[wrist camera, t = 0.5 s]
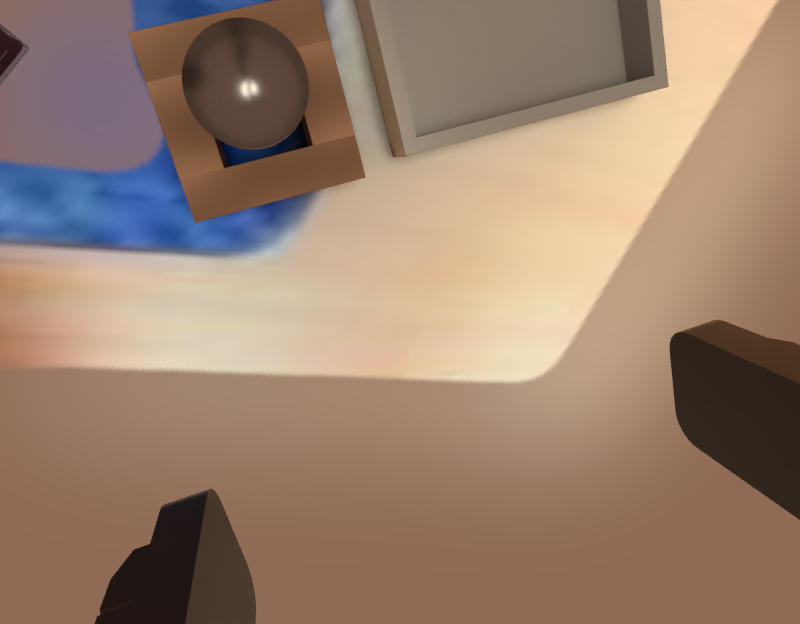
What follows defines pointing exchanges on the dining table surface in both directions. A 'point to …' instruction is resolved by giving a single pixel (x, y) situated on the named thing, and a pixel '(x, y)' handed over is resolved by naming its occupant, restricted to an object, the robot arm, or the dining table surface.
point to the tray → (504, 62)
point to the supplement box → (9, 52)
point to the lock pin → (245, 83)
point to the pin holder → (204, 155)
